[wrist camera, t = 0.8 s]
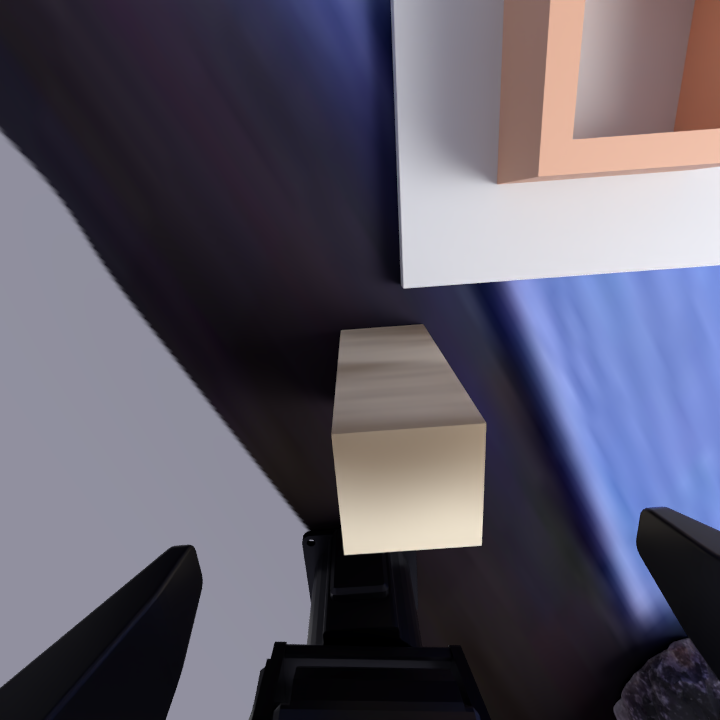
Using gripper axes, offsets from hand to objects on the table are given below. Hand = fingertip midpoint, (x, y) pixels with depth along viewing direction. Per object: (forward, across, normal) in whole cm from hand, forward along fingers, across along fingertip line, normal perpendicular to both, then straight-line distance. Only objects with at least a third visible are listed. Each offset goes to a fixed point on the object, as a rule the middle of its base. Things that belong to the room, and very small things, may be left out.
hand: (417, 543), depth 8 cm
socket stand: (+12, -9, -11) cm, 19 cm away
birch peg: (+13, 0, +1) cm, 13 cm away
